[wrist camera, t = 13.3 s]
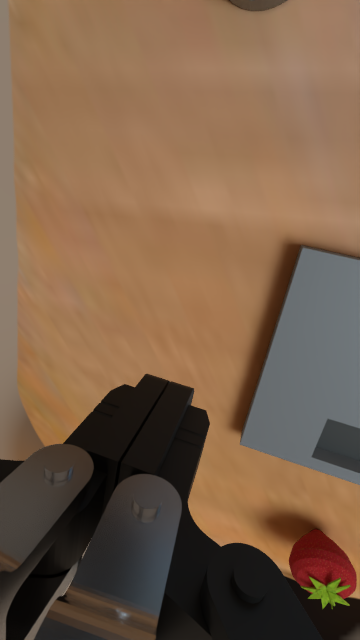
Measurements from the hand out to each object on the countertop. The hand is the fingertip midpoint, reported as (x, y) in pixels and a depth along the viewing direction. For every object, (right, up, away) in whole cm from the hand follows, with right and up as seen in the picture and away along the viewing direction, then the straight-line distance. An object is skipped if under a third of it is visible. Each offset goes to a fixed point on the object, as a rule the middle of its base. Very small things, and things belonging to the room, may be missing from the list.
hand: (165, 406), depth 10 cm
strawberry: (+19, -25, +35) cm, 47 cm away
